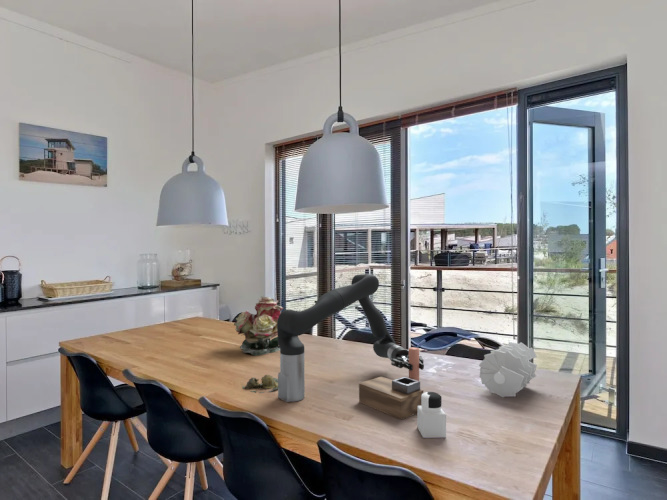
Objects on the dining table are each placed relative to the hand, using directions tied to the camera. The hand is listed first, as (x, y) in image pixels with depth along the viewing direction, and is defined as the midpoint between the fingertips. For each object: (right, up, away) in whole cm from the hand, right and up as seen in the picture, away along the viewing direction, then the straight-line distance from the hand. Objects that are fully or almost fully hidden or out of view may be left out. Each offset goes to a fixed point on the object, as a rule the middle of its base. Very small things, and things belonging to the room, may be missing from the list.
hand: (417, 367), depth 153 cm
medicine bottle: (-2, -12, -30) cm, 32 cm away
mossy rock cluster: (-61, -12, +13) cm, 63 cm away
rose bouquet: (-72, -11, +71) cm, 102 cm away
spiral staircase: (+38, -11, +7) cm, 40 cm away
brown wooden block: (-12, -11, -9) cm, 19 cm away
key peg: (-1, -9, +3) cm, 10 cm away
